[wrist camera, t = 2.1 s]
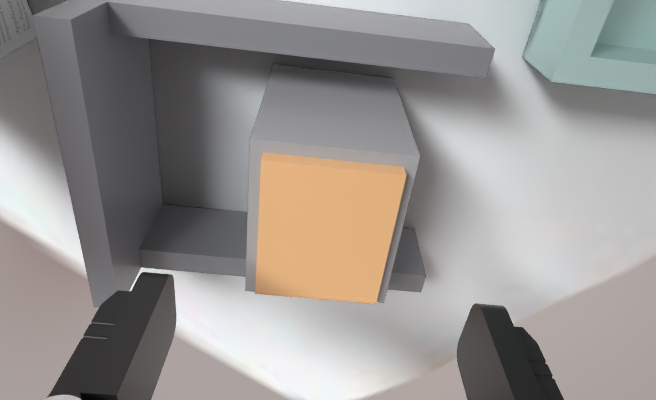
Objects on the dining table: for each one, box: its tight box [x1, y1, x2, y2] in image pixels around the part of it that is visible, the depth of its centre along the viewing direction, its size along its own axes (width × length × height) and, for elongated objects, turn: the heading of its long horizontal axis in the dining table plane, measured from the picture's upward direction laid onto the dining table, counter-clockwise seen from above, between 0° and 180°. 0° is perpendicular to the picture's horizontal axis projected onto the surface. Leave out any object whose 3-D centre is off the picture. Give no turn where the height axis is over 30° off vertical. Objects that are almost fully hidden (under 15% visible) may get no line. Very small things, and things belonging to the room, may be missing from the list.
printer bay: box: [32, 0, 495, 307], centre depth 19 cm, size 11×14×6 cm
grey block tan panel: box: [245, 65, 420, 304], centre depth 18 cm, size 6×5×8 cm
